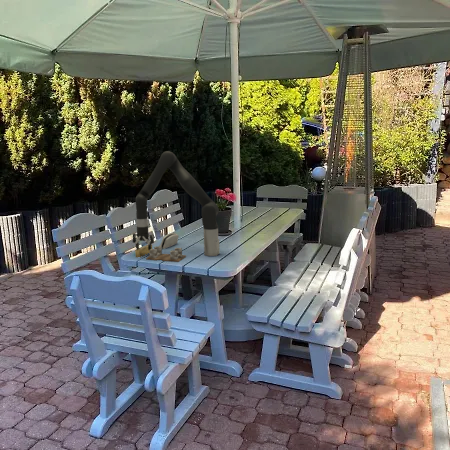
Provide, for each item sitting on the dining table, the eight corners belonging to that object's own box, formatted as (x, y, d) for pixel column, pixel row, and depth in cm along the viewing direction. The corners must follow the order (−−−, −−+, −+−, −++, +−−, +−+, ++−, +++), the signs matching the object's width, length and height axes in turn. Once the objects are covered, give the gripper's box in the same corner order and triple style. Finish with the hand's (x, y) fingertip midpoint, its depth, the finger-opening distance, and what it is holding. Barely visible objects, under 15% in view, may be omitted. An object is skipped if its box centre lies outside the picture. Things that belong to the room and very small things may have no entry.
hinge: (171, 242, 327) (174, 230, 324) (176, 245, 326) (180, 232, 322) (157, 248, 313) (161, 235, 309) (163, 251, 311) (166, 238, 308)
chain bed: (186, 256, 291) (185, 247, 289) (178, 262, 279) (178, 252, 278) (154, 254, 297) (154, 245, 296) (146, 259, 286) (145, 250, 285)
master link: (148, 251, 306) (148, 244, 305) (152, 252, 304) (152, 244, 303) (135, 257, 292) (135, 249, 291) (139, 257, 291) (139, 250, 290)
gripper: (155, 224, 296) (156, 248, 299) (135, 223, 300) (136, 247, 304) (149, 227, 289) (150, 251, 292) (129, 225, 293) (131, 250, 297)
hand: (143, 249), depth 298 cm, fingers open, 8 cm apart
